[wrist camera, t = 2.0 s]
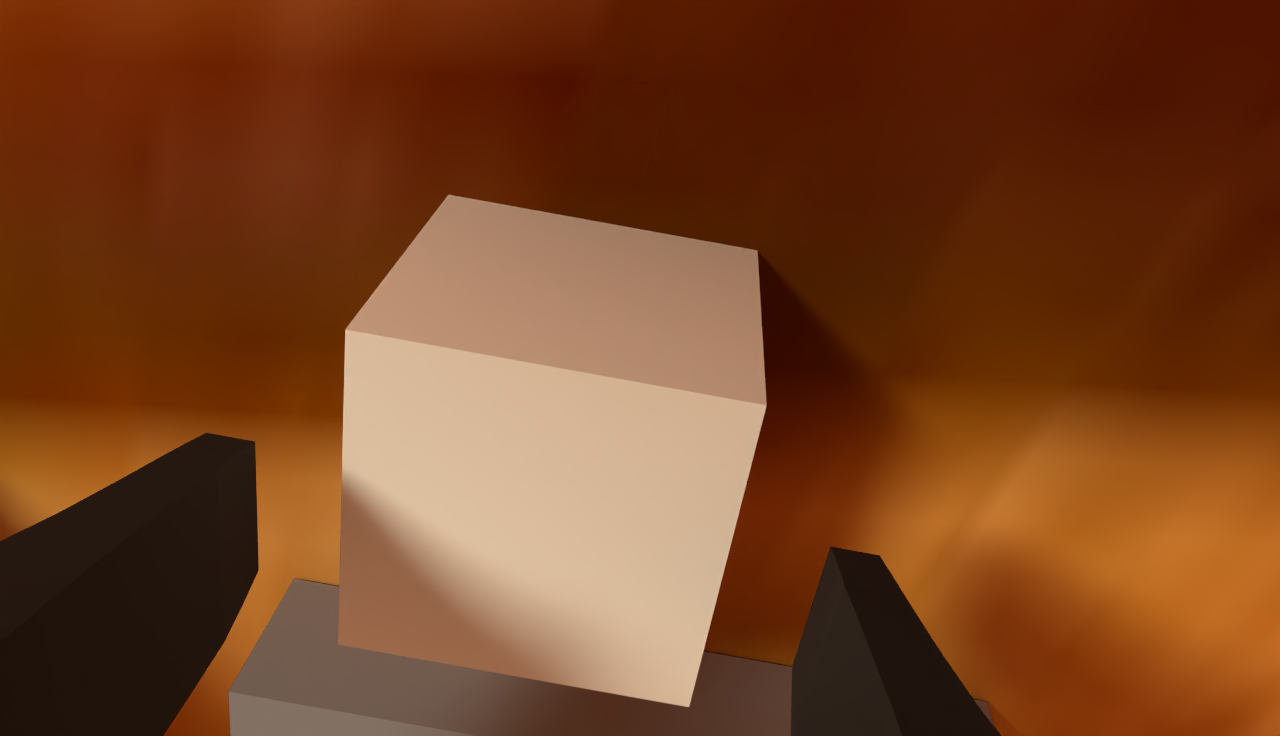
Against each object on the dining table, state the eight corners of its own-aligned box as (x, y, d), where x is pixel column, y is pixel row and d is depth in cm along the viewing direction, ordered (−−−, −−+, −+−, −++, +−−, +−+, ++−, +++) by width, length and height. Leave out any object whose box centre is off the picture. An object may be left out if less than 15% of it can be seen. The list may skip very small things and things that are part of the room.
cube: (430, 451, 19) (338, 644, 14) (449, 192, 16) (345, 329, 12) (698, 499, 19) (689, 707, 14) (757, 248, 16) (766, 405, 12)
